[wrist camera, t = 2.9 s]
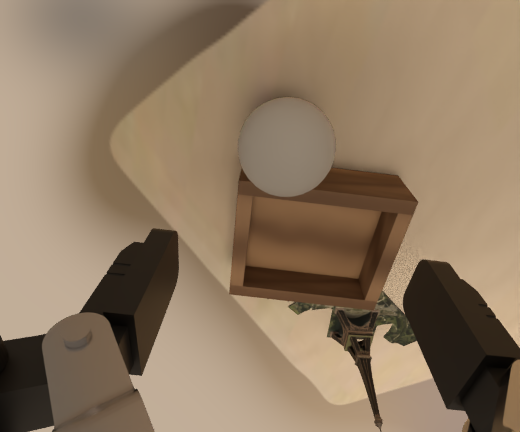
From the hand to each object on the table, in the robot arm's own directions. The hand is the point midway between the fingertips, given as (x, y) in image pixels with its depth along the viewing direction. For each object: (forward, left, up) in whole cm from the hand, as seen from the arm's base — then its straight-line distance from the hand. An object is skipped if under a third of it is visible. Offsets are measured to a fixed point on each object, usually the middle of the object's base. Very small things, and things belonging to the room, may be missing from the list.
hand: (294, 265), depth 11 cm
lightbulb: (0, 0, -20) cm, 20 cm away
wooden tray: (+10, +4, -19) cm, 22 cm away
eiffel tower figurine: (+23, +12, -20) cm, 33 cm away
